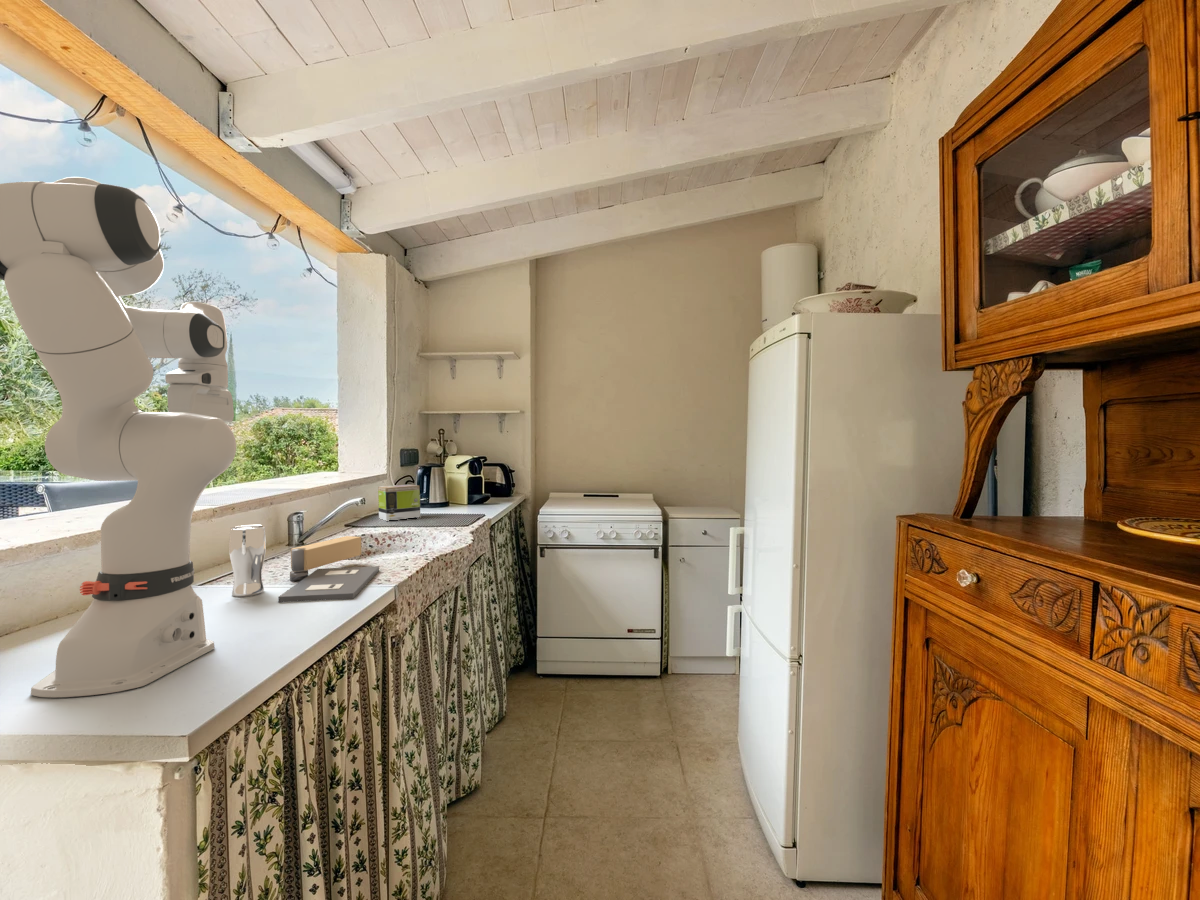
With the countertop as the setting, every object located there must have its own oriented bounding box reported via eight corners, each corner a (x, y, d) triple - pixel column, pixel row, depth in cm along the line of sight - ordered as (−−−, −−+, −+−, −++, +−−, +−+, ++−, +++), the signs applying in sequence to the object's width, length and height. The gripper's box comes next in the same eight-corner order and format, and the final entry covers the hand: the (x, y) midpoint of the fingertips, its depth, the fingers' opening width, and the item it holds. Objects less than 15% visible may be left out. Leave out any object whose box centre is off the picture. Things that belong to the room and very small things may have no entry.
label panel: (353, 598, 120) (353, 591, 120) (278, 602, 117) (278, 595, 117) (378, 570, 146) (378, 565, 146) (317, 573, 143) (317, 567, 143)
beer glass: (248, 598, 120) (248, 529, 120) (221, 596, 122) (221, 528, 122) (273, 589, 127) (272, 525, 127) (247, 588, 129) (247, 524, 128)
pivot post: (305, 581, 135) (305, 573, 135) (287, 581, 134) (287, 573, 134) (310, 577, 139) (310, 569, 139) (293, 577, 138) (293, 570, 138)
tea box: (412, 516, 250) (412, 483, 249) (420, 518, 242) (420, 485, 242) (378, 519, 240) (377, 485, 240) (385, 522, 232) (385, 487, 232)
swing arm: (361, 554, 154) (361, 536, 154) (301, 571, 134) (301, 551, 134) (346, 553, 155) (346, 536, 155) (285, 570, 136) (285, 550, 136)
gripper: (211, 383, 131) (212, 441, 131) (159, 373, 111) (161, 442, 111) (241, 384, 132) (241, 441, 132) (195, 374, 112) (196, 442, 112)
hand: (204, 442), depth 121 cm, fingers closed
